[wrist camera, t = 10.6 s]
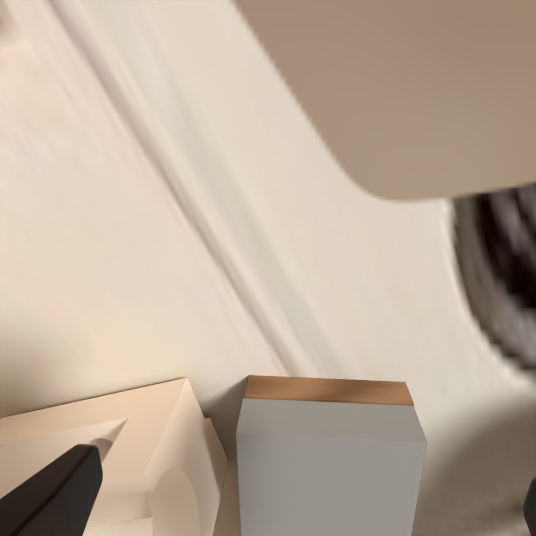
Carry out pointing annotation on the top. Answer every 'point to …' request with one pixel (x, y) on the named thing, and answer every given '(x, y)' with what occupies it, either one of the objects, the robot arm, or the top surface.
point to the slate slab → (328, 468)
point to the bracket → (129, 455)
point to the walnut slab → (328, 390)
